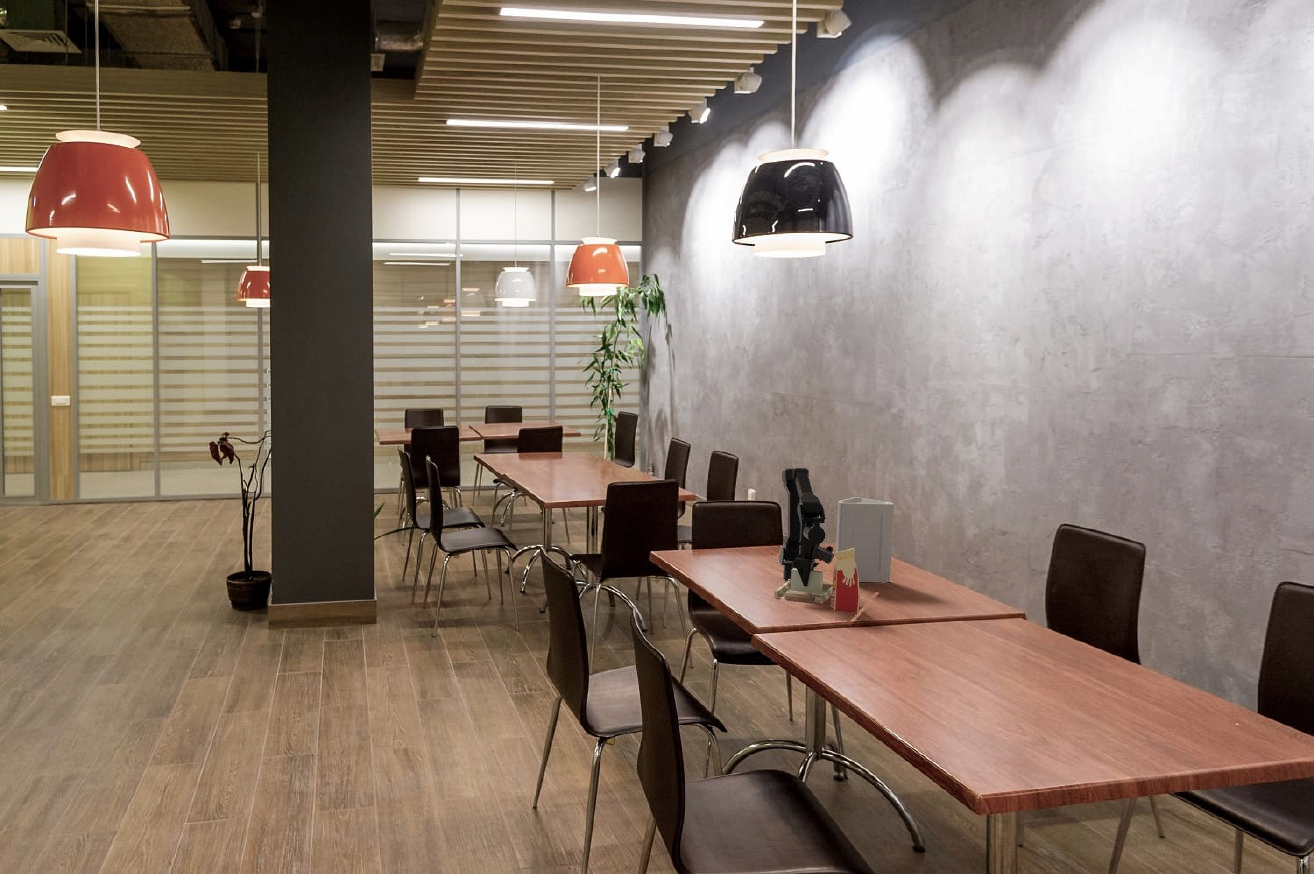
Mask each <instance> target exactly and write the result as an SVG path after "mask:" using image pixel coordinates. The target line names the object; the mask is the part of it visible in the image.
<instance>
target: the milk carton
mask: <svg viewBox="0 0 1314 874" xmlns="http://www.w3.org/2000/svg"><path fill="white" fill-rule="evenodd" d="M832 553H833V554H834V558H836V562H835V561H834V563H835V564H834V568H833V575H832V576H833V577H832V584H833V586H832V595H831V596H830V597H831V598H830V603H829V608H831V609H832V610H833V611H835V612H836V611H843V612H844V611H845V612H854V613H855V612H856V613H858V614H859V611H860V600H861V599H860V598H861V596H860V595H861V594H860V593H861V592H860V583H859V576H858V572H857V568H856V563H855V559H854V554H855V548H852V549H849V550H845V551H838V552H836V551H833V552H832Z"/></svg>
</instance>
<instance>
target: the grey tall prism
mask: <svg viewBox="0 0 1314 874" xmlns="http://www.w3.org/2000/svg"><path fill="white" fill-rule="evenodd" d="M894 512H895V503H893V502H891V501H884V500H877V499H871V498H866V497H850V498H846V499H840V500H838V501H837V514H836V515H837V517H836V539H835V552H838V551H845V550H849V549H852V548H855V554H854V559H855V563H856V568H857V572H858V576H859V582H890V583H891V573H892V572H891V569H892V568H891V567H892V554H893V553H892V551H893V531H894V515H895V513H894ZM834 558H835V557H834ZM834 560H835V561H834V563H835V562H836V558H835V559H834Z"/></svg>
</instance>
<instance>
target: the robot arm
mask: <svg viewBox="0 0 1314 874" xmlns="http://www.w3.org/2000/svg"><path fill="white" fill-rule="evenodd" d="M809 473H810V471H809V469H808V468H806V467H793V468H791V467H789V468H788V467H787V468H785V469H784V470H783V471H782V472H781V481H782V482H783V488H784V490H785V491H786V493H787V536H786V538H785V539H784V540H783V542H782V547H781V550H780V553H779V555H778V563H779V564H780V565H781V566H783V577H782V579H783V580H784V581H786V582H787V581H788V579H791V570H792V569H793V568H796V569H797V571H798V573H799V575H800V577H801V580H802V583H803V585H804V586H806V587H807V586H808V581H809V576H810V572H811V570H814V571H815V568H817V566H819V565H820V562H821V561H822V562H824V563H825V564H828V565H830V564H831V563H832V561H833V560H834V558H835V556H834V554H833V553H832V552H834V547H833V546H831V545H828V546H827V547H826V548H825V547H823V546H820V544H822V543H823V542H824V541H825V539H826V532H825V530H824V528H822V526H821V524H825V522H826V521H825V520H826V514H825V508H824V507H823V504H822V502H821V500H820V497H818V496H817V495H815V494H814V491H813V487H812V485H811V481H810V474H809ZM816 560H818V561H820V562H816Z"/></svg>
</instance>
